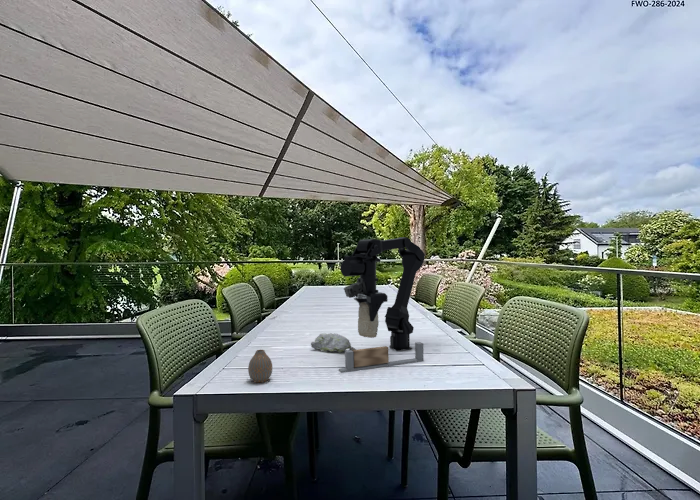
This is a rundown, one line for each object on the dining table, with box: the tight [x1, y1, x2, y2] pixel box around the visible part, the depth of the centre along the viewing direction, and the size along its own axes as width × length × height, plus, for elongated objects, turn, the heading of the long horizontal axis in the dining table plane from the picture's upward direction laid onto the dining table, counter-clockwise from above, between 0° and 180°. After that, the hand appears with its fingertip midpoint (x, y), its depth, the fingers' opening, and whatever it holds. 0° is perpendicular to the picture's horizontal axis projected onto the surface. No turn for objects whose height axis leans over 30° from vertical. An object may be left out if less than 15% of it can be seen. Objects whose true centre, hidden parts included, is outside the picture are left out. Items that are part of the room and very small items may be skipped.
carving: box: [357, 302, 380, 339], centre depth 131 cm, size 6×8×12 cm
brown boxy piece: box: [348, 345, 390, 367], centre depth 122 cm, size 12×7×5 cm, turn 111°
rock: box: [310, 332, 352, 353], centre depth 140 cm, size 16×7×7 cm, turn 64°
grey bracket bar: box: [338, 341, 425, 374], centre depth 121 cm, size 30×2×6 cm, turn 111°
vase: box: [247, 349, 273, 384], centre depth 109 cm, size 7×7×9 cm
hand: (368, 319), depth 131 cm, fingers closed on carving, 6 cm apart
